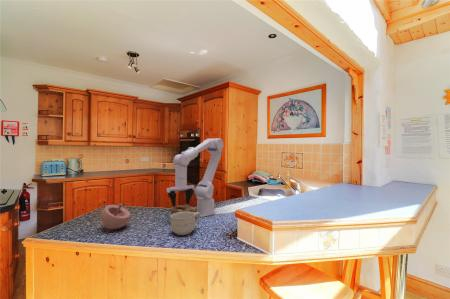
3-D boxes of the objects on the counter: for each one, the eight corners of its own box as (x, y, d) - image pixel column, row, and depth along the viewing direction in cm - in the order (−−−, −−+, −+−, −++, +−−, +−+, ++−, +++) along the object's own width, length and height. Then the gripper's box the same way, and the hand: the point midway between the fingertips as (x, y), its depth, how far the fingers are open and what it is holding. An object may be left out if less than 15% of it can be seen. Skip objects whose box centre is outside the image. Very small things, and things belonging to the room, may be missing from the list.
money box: (186, 216, 112) (186, 204, 112) (196, 221, 104) (196, 208, 104) (170, 219, 106) (170, 207, 106) (179, 225, 98) (180, 211, 98)
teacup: (173, 239, 83) (173, 219, 83) (167, 230, 92) (167, 212, 92) (205, 233, 89) (206, 215, 89) (197, 225, 99) (197, 208, 99)
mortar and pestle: (123, 233, 88) (124, 206, 88) (94, 234, 87) (95, 207, 88) (134, 223, 100) (134, 200, 100) (108, 224, 99) (109, 200, 100)
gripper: (189, 176, 112) (189, 201, 112) (164, 178, 103) (163, 205, 103) (196, 177, 107) (196, 203, 107) (170, 180, 97) (169, 208, 97)
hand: (180, 205), depth 104 cm, fingers open, 7 cm apart
